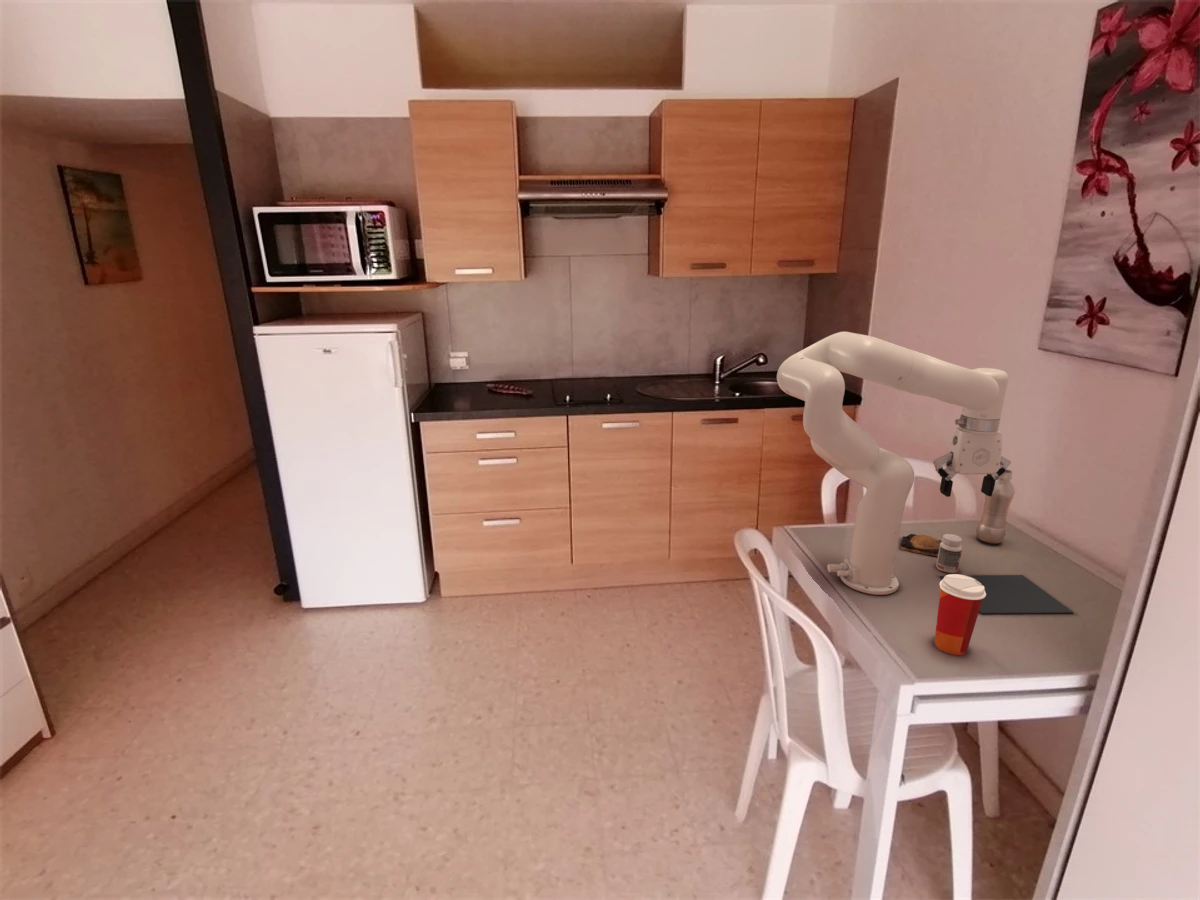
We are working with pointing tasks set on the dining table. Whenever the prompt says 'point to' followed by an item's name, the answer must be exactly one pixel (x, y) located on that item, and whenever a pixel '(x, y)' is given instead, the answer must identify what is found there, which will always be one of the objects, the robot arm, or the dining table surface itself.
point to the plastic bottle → (996, 510)
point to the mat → (1016, 596)
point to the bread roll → (921, 544)
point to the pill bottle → (949, 553)
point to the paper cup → (957, 612)
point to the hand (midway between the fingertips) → (965, 494)
